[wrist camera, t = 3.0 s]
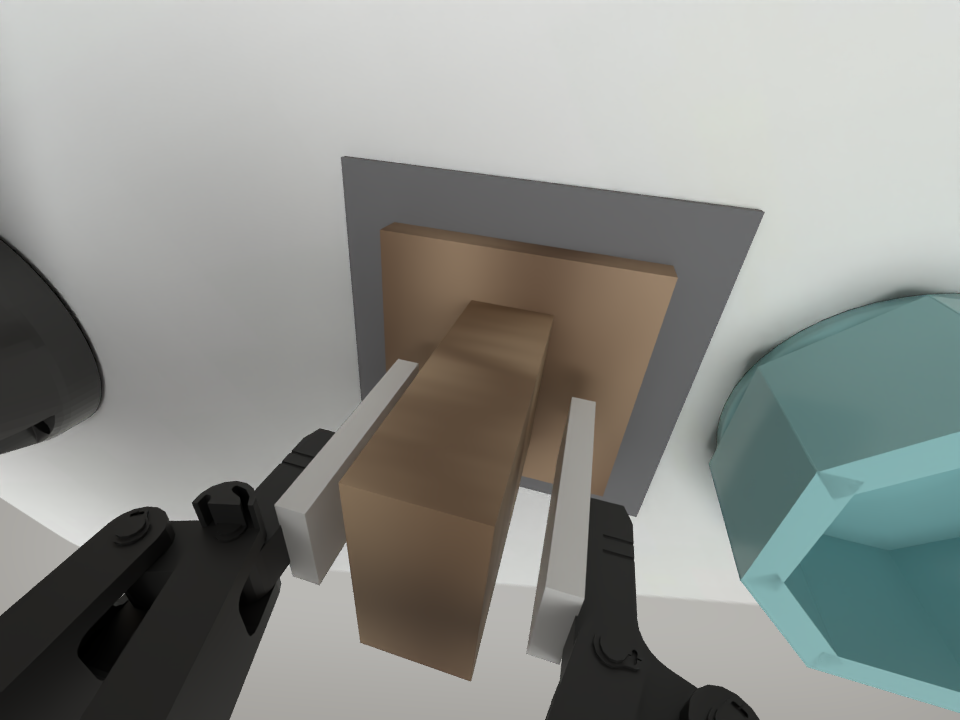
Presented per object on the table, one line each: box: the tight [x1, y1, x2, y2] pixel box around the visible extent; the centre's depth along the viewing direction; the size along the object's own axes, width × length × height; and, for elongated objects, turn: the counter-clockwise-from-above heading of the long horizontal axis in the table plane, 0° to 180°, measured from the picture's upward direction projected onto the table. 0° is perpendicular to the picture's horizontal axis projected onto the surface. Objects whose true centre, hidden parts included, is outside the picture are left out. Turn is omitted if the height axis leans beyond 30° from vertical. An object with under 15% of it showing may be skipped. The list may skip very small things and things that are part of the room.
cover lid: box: [338, 222, 678, 681], centre depth 13 cm, size 10×10×10 cm
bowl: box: [709, 293, 960, 713], centre depth 13 cm, size 11×11×6 cm
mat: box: [341, 156, 764, 517], centre depth 18 cm, size 14×14×1 cm
